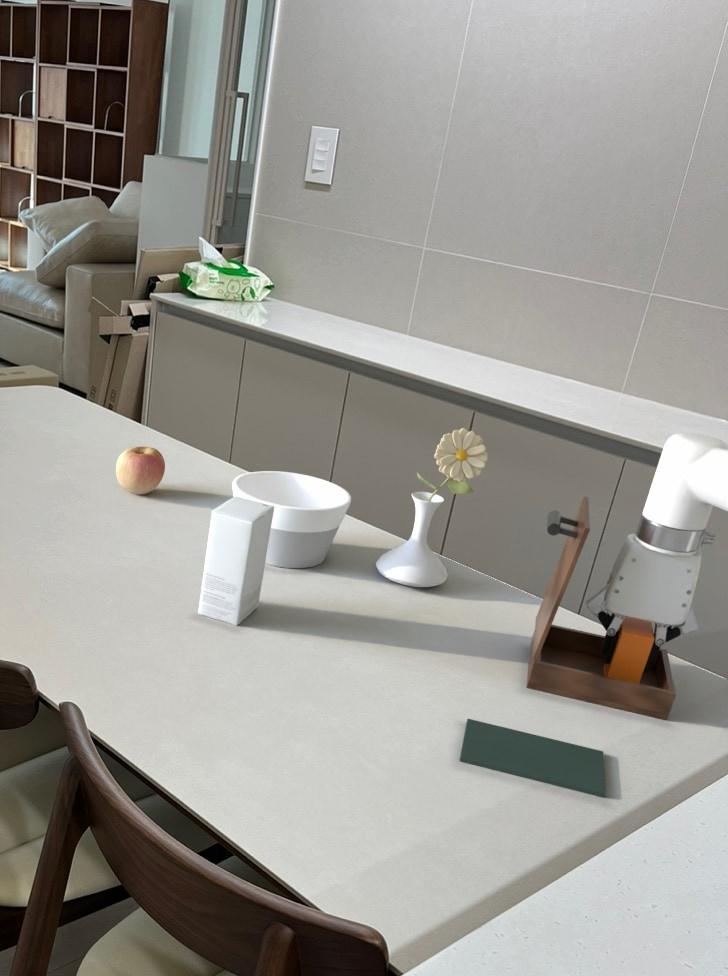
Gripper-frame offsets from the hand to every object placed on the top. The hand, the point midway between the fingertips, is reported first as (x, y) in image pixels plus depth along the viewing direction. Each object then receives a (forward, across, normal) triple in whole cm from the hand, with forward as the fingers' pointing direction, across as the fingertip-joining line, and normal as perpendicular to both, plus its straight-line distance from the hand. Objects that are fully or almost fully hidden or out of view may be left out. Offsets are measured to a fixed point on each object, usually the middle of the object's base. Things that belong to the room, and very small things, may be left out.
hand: (625, 662), depth 141 cm
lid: (-10, +11, 0) cm, 14 cm away
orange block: (+3, 0, 0) cm, 3 cm away
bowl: (+4, +52, -23) cm, 57 cm away
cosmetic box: (+4, +54, +5) cm, 54 cm away
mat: (+3, +10, +26) cm, 28 cm away
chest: (+3, +3, 0) cm, 5 cm away
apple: (+4, +84, -38) cm, 92 cm away
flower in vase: (+4, +30, -23) cm, 38 cm away
